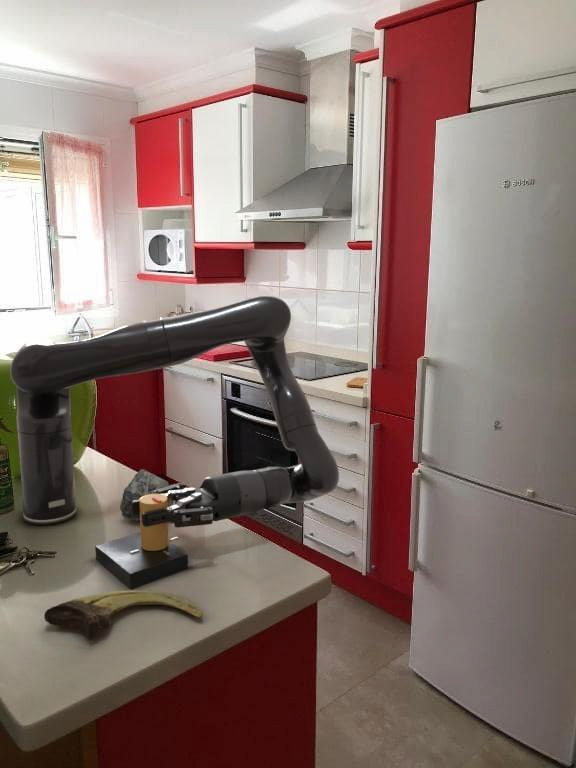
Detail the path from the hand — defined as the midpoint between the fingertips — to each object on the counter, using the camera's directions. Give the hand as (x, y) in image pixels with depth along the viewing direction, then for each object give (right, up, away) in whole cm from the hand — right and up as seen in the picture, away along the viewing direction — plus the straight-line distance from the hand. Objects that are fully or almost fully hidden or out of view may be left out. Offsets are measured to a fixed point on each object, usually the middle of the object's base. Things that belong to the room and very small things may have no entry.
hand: (137, 513), depth 100 cm
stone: (-3, -5, +20) cm, 21 cm away
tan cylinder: (+2, -6, +3) cm, 7 cm away
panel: (0, -8, +1) cm, 9 cm away
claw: (+2, -12, -14) cm, 18 cm away
